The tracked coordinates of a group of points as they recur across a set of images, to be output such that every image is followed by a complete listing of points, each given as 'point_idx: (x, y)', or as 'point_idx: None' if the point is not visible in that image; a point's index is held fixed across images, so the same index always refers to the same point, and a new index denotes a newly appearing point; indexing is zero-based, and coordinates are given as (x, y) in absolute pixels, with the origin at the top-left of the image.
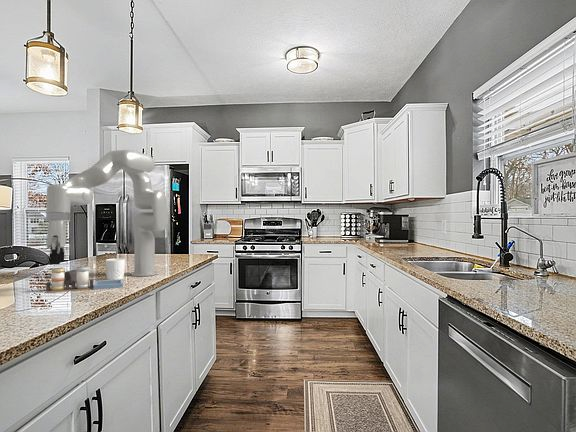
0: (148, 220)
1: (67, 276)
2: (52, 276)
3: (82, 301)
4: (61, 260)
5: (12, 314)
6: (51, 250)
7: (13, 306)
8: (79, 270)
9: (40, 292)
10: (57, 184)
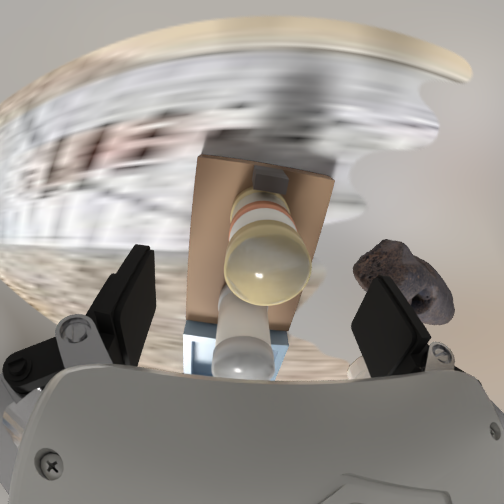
0: None
1: (386, 273)
2: (247, 216)
3: (78, 273)
4: (357, 321)
5: (5, 115)
6: (31, 347)
7: (86, 76)
8: (217, 350)
9: (344, 143)
10: None
